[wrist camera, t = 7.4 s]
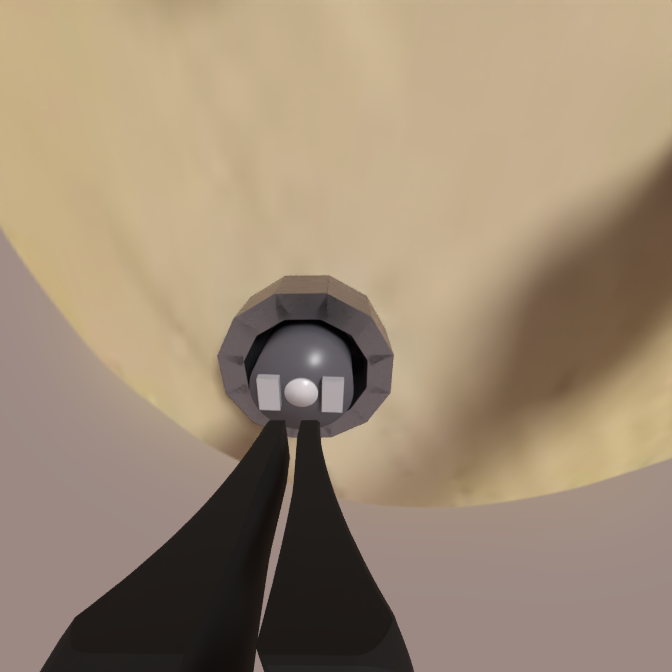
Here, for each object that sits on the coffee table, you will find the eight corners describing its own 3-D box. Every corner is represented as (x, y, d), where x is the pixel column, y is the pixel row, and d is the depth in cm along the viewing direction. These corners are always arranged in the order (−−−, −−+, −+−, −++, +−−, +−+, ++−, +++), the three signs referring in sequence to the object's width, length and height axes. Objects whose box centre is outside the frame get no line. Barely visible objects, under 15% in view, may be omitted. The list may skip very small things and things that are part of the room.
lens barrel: (389, 275, 16) (399, 292, 13) (380, 403, 20) (386, 437, 17) (225, 276, 16) (203, 294, 13) (249, 404, 20) (236, 437, 18)
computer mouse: (353, 312, 16) (357, 352, 13) (348, 384, 19) (350, 437, 15) (264, 309, 16) (241, 348, 13) (270, 382, 19) (252, 433, 15)
